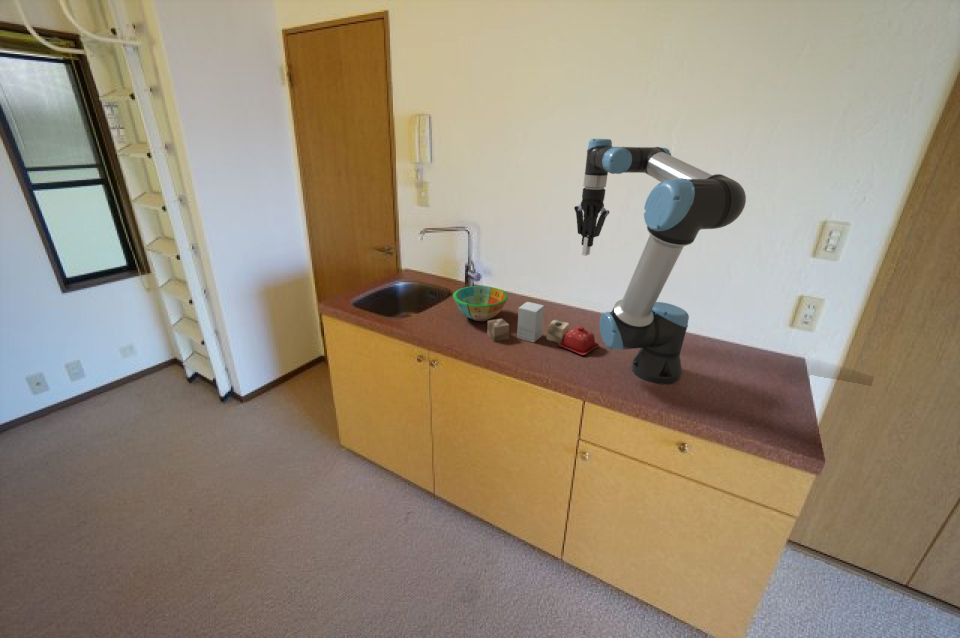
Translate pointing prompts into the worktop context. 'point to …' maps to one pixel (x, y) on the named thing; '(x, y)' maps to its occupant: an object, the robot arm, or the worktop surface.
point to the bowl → (480, 301)
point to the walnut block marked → (498, 329)
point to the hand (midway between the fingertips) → (585, 254)
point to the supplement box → (530, 321)
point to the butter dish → (579, 341)
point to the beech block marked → (557, 331)
